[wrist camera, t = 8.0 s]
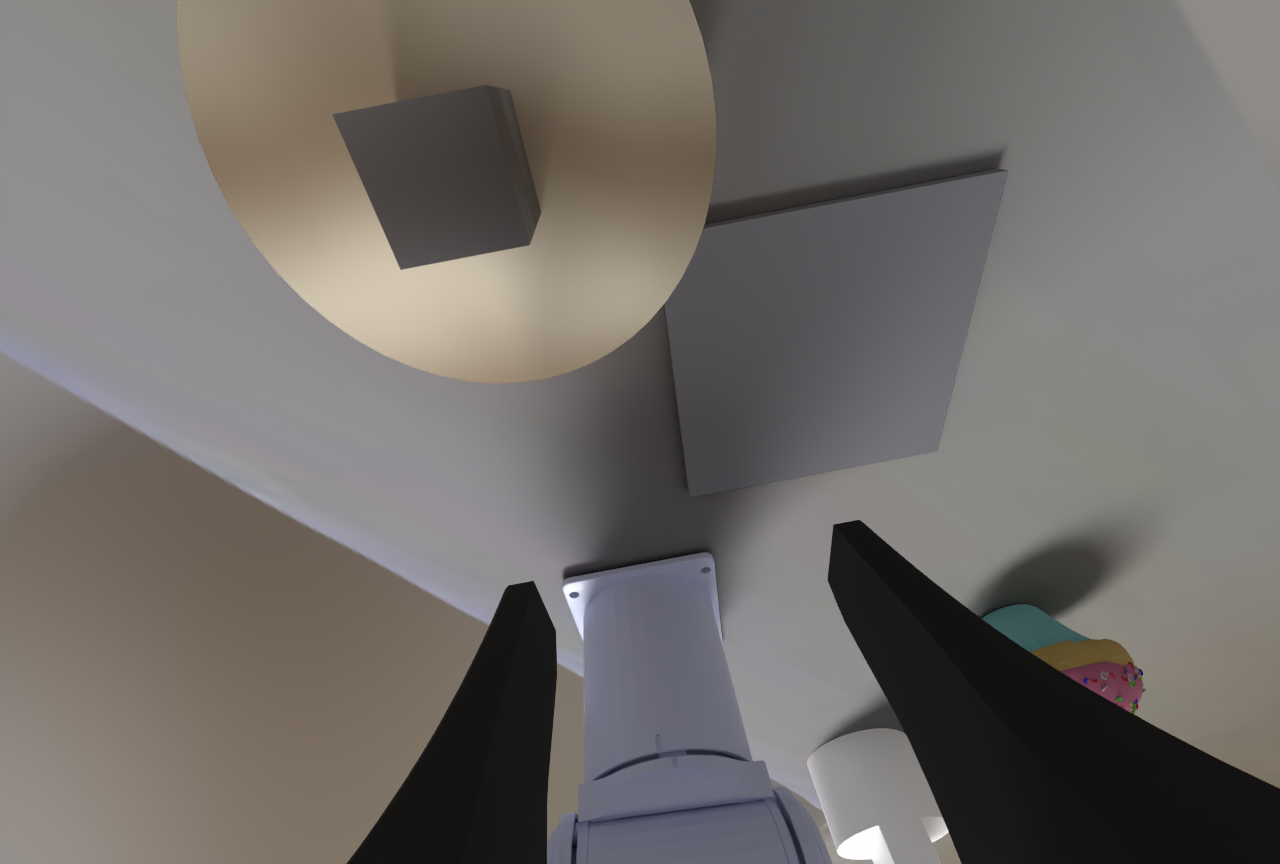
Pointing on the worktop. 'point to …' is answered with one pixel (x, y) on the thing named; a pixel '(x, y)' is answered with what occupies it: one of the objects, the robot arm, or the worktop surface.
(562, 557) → the worktop surface
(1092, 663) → the cupcake
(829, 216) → the mat
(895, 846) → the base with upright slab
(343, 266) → the lid
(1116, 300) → the worktop surface
